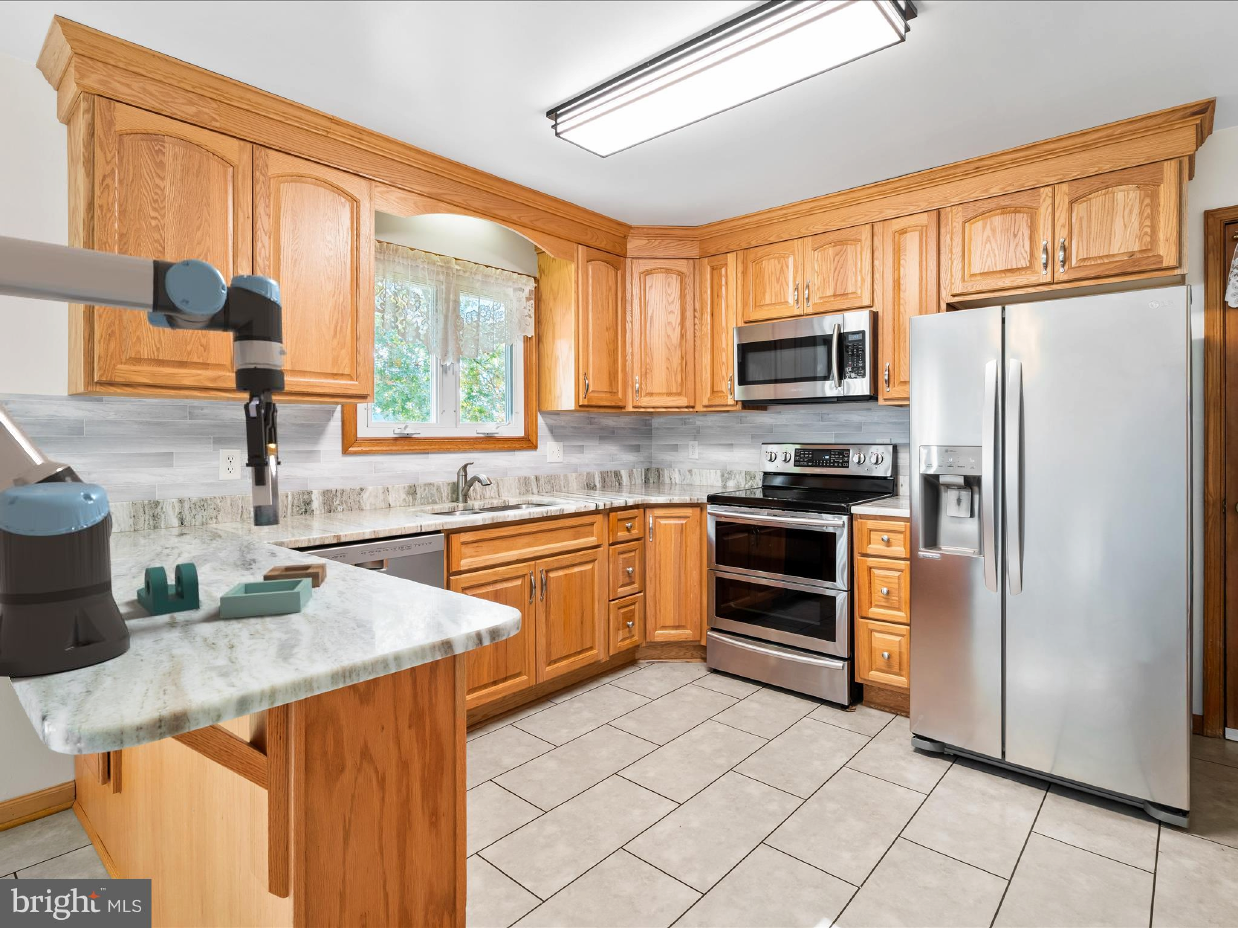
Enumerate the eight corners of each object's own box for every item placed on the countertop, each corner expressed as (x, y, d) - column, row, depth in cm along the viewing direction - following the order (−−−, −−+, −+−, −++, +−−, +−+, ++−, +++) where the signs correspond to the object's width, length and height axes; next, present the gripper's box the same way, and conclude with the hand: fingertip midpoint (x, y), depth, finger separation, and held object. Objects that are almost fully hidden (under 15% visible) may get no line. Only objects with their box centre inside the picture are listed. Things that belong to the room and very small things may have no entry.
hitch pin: (251, 526, 115) (247, 444, 115) (256, 523, 119) (253, 444, 118) (277, 525, 116) (273, 443, 116) (281, 522, 120) (278, 443, 120)
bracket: (199, 609, 118) (197, 564, 118) (153, 617, 113) (151, 570, 113) (176, 594, 131) (174, 553, 131) (134, 600, 126) (132, 558, 126)
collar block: (319, 586, 134) (319, 571, 134) (263, 590, 131) (263, 575, 131) (326, 577, 144) (326, 562, 144) (274, 580, 141) (274, 566, 141)
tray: (300, 611, 114) (299, 591, 114) (220, 618, 111) (219, 597, 110) (312, 596, 125) (311, 577, 125) (240, 602, 122) (239, 582, 122)
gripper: (273, 363, 109) (279, 507, 110) (292, 373, 126) (298, 499, 127) (221, 362, 107) (227, 509, 108) (248, 373, 124) (253, 500, 125)
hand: (265, 503), depth 117 cm, fingers closed on hitch pin, 4 cm apart
